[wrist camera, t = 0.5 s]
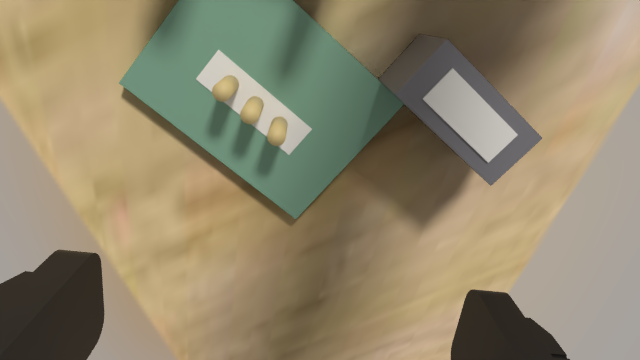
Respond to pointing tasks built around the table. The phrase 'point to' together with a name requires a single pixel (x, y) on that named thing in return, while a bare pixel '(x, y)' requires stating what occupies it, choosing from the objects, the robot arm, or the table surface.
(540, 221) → the table surface
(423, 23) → the table surface
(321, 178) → the board
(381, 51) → the table surface
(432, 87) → the block
